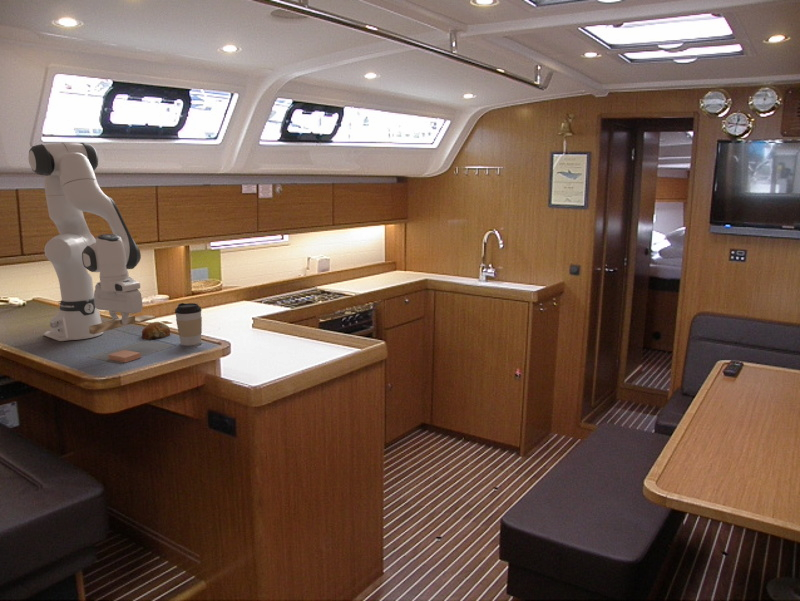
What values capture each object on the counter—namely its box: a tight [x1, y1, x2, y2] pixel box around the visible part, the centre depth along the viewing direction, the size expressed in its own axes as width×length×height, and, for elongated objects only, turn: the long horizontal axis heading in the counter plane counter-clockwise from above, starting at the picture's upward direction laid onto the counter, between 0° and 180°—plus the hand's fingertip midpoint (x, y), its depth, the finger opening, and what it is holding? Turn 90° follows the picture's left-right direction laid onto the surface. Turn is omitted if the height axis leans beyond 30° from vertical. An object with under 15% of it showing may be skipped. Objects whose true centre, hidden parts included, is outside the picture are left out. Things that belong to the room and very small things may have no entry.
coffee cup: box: [174, 302, 203, 348], centre depth 227 cm, size 9×9×15 cm
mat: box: [88, 339, 177, 365], centre depth 219 cm, size 16×23×1 cm
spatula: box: [89, 314, 156, 334], centre depth 218 cm, size 23×6×2 cm, turn 151°
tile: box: [109, 350, 142, 363], centre depth 211 cm, size 2×6×8 cm
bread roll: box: [141, 321, 171, 340], centre depth 239 cm, size 10×10×8 cm
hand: (120, 324), depth 217 cm, fingers closed on spatula, 2 cm apart
